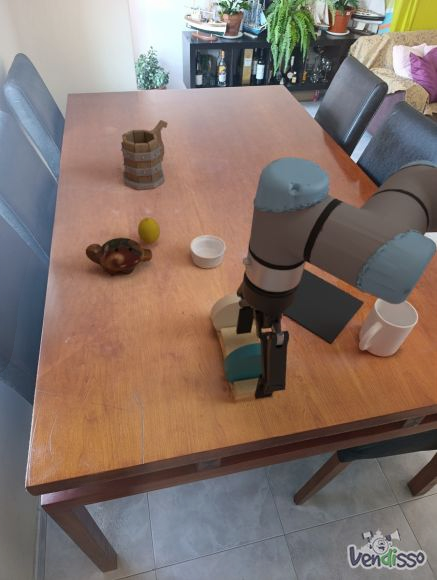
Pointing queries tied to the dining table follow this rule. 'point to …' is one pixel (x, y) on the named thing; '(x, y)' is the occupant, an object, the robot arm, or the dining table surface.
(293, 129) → the dining table surface
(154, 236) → the lemon
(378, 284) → the robot arm
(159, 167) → the tankard
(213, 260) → the ramekin
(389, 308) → the mug
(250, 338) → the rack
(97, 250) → the brown piece
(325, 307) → the mat
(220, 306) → the cream disc
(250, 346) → the teal disc
